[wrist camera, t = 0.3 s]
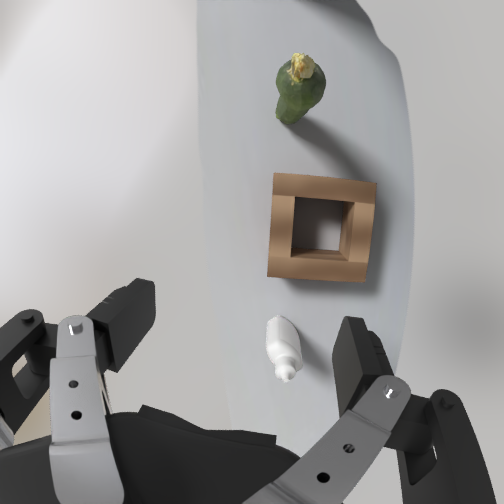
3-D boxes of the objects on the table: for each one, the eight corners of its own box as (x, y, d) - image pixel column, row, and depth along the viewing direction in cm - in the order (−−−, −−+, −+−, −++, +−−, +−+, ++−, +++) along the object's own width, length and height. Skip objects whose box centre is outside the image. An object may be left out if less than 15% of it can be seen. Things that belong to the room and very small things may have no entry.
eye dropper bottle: (296, 311, 41) (303, 358, 29) (299, 344, 42) (307, 395, 30) (265, 315, 41) (262, 363, 29) (271, 347, 42) (269, 399, 31)
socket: (273, 174, 36) (273, 172, 31) (362, 182, 36) (376, 183, 30) (268, 264, 39) (267, 276, 34) (353, 269, 39) (364, 282, 33)
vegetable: (290, 95, 34) (306, 16, 14) (315, 116, 34) (355, 54, 15) (268, 117, 35) (262, 51, 15) (292, 138, 35) (313, 91, 16)
